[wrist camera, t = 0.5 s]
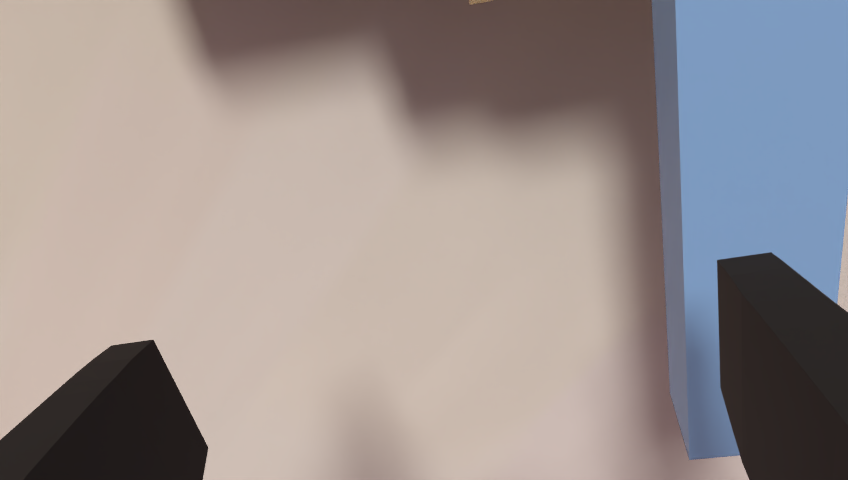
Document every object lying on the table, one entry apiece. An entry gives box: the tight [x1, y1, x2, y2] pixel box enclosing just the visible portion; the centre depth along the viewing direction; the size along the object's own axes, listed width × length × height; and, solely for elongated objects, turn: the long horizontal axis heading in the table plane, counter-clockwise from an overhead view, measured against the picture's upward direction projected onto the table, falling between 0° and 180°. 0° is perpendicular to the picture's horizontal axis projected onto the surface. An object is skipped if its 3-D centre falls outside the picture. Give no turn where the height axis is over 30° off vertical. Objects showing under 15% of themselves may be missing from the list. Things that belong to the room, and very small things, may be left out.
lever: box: [652, 0, 848, 460], centre depth 12 cm, size 3×14×2 cm, turn 11°
